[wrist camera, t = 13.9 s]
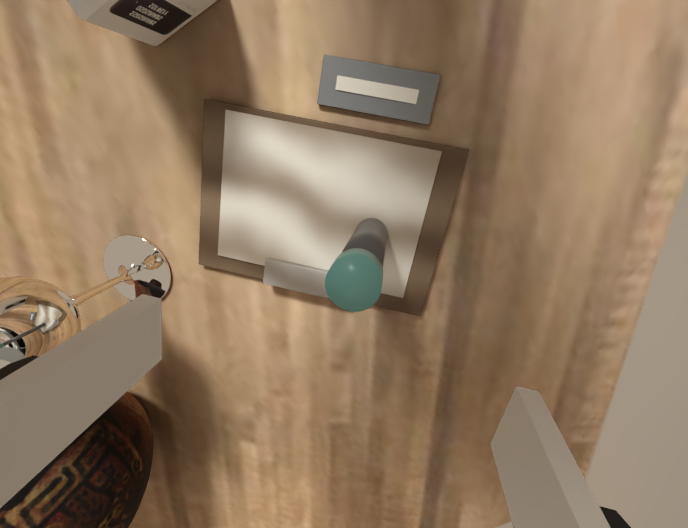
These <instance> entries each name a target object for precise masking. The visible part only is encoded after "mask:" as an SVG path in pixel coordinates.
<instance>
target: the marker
mask: <svg viewBox="0 0 688 528" xmlns="http://www.w3.org/2000/svg"><path fill="white" fill-rule="evenodd" d="M387 236H388V232H387V228H386V226H385V225H384V223H383V222H382V221H380V220H378V219H375V218H367V219H365V220H363V221H361V222H360V223H359V224H358V226H357V228H356V229H355V231H354V233H353V234H352V236H351V238H350V239H349V241H348V243H347V244H346V246H345V248H344V249H343V251H342V253H341V254H340V255H339V256H338V257H337V258H336V259H335V261H334V262H333V264H332V266H331V267H330V269H329V270H328V272H327V275H326V278H325V289H326V292H327V295H328V297H329V298H330V300H331V301H332V302H333V303H334V304H335V305H336V306H338V307H339V308H341V309H344V310H347V311H352V312H357V311H363V310H366V309H368V308H370V307H371V306H372V305H373V304H375V302H376V301H377V300H378V298H379V296H380V294H381V289H382V282H383V263H384V256H385V249H386V243H387Z"/></svg>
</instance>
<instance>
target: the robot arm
mask: <svg viewBox="0 0 688 528" xmlns="http://www.w3.org/2000/svg"><path fill="white" fill-rule="evenodd" d="M161 359H162V311H161V298H157V297H153V296H148V295H144V294H142V295H140V296H138V297H137V298H135V299H133V300H132V301H130V302H129V303H127V304H125V305H124V306H122V307H120V308H119V309H117V310H115V311H114V312H112V313H110V314H109V315H107V316H105V317H104V318H102V319H100V320H99V321H97V322H96V323H94V324H92V325H91V326H89V327H87V328H86V329H84V330H82V331H81V332H79V333H77V334H76V335H74V336H72V337H71V338H69V339H67V340H66V341H64V342H63V343H61V344H59V345H58V346H56V347H54V348H53V349H51V350H49V351H48V352H46V353H44V354H43V355H41V356H39V357H38V356H34V355H32V356H30V357H27V358H24V359H21V360H18V361H16V362H13V363H10V364H8V365H6V366H5V367H3V368H1V369H0V508H1V507H2V506H3V505H4V504H5V503H7V502H8V501H9V500H10V499H11V498H12V497H13V496H14V495H15V494H16V493H17V492H18V491H20V490H21V489H22V488H23V487H24V486H25V485H26V484H27V483H28V482H29V481H30V480H31V479H33V478H34V477H35V476H36V475H37V474H38V473H39V472H40V471H41V470H42V469H43V468H44V467H46V466H47V465H48V464H49V463H50V462H51V461H52V460H53V459H54V458H55V457H56V456H57V455H59V454H60V453H61V452H62V451H63V450H64V449H65V448H66V447H67V446H68V445H69V444H70V443H72V442H73V441H74V440H75V439H76V438H77V437H78V436H79V435H80V434H81V433H82V432H83V431H85V430H86V429H87V428H88V427H89V426H90V425H91V424H92V423H93V422H94V421H95V420H96V419H98V418H99V417H100V416H101V415H102V414H103V413H104V412H105V411H106V410H107V409H108V408H109V407H111V406H112V405H113V404H114V403H115V402H116V401H117V400H118V399H119V398H120V397H121V396H122V395H124V394H125V393H126V392H127V391H128V390H129V389H130V388H131V387H132V386H133V385H134V384H135V383H137V382H138V381H139V380H140V379H141V378H142V377H143V376H144V375H145V374H146V373H147V372H148V371H150V370H151V369H152V368H153V367H154V366H155V365H156V364H157V363H158V362H159V361H160V360H161ZM490 446H491V449H492V453H493V457H494V460H495V464H496V467H497V471H498V475H499V478H500V482H501V485H502V489H503V493H504V496H505V500H506V503H507V507H508V511H509V514H510V518H511V521H512V524H513V528H631V527H630V526H629V525H628V524H627V523H626V522H625V521H624V519H623V518H622V517H621V516H620V515H619V514H618V513H617V511H615V510H612V509H608V508H604V507H600V506H599V505H598V503H597V501H596V499H595V497H594V495H593V493H592V491H591V489H590V488H589V486H588V484H587V482H586V480H585V478H584V476H583V474H582V472H581V470H580V469H579V467H578V465H577V463H576V461H575V459H574V457H573V455H572V453H571V451H570V450H569V448H568V446H567V444H566V442H565V440H564V438H563V436H562V434H561V432H560V431H559V429H558V427H557V425H556V423H555V421H554V419H553V417H552V415H551V413H550V412H549V410H548V408H547V406H546V404H545V402H544V400H543V398H542V396H541V394H540V393H539V391H536V390H532V389H528V388H523V387H519V386H516V387H515V389H514V392H513V394H512V396H511V398H510V401H509V403H508V405H507V407H506V410H505V412H504V414H503V417H502V419H501V421H500V423H499V426H498V428H497V430H496V432H495V435H494V437H493V439H492V441H491V444H490Z"/></svg>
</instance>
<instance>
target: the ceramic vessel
mask: <svg viewBox="0 0 688 528" xmlns="http://www.w3.org/2000/svg"><path fill="white" fill-rule="evenodd" d="M152 456H153V436H152V430H151V425H150V422H149V418H148V416H147V414H146V411H145V410H144V408H143V407H142V405H141V404H140V403H139V402H138V400H137V399H136V398H135V397H133V396H132V395H131V394H129V393H128V392H126V393H125V394H124V395H122V396H121V397H120V398H119V399H118V400H117V401H116V402H115V403H114V404H113V405H112V406H111V407H109V408H108V409H107V410H106V411H105V412H104V413H103V414H102V415H101V416H100V417H99V418H98V419H96V420H95V421H94V422H93V423H92V424H91V425H90V426H89V427H88V428H87V429H86V430H85V431H83V432H82V433H81V434H80V435H79V436H78V437H77V438H76V439H75V440H74V441H73V442H72V443H70V444H69V445H68V446H67V447H66V448H65V449H64V450H63V451H62V452H61V453H60V454H59V455H57V456H56V457H55V458H54V459H53V460H52V461H51V462H50V463H49V464H48V465H47V466H46V467H44V468H43V469H42V470H41V471H40V472H39V473H38V474H37V475H36V476H35V477H34V478H33V479H31V480H30V481H29V482H28V483H27V484H26V485H25V486H24V487H23V488H22V489H21V490H20V491H18V492H17V493H16V494H15V495H14V496H13V497H12V498H11V499H10V500H9V501H8V502H7V503H5V504H4V505H3V506H2V507H1V508H0V528H128V527H129V525H130V523H131V522H132V520H133V518H134V516H135V514H136V512H137V510H138V508H139V505H140V503H141V500H142V497H143V495H144V492H145V489H146V486H147V483H148V480H149V475H150V470H151V464H152Z"/></svg>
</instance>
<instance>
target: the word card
mask: <svg viewBox="0 0 688 528" xmlns="http://www.w3.org/2000/svg"><path fill="white" fill-rule="evenodd" d="M440 76H441V75H438V74H432V73H427V72H421V71H415V70H410V69H404V68H398V67H392V66H387V65H381V64H375V63H369V62H364V61H358V60H352V59H347V58H341V57H335V56H329V55H324V58H323V66H322V73H321V80H320V87H319V94H318V102H317V104H320V105H326V106H331V107H336V108H342V109H347V110H352V111H358V112H363V113H368V114H374V115H379V116H384V117H390V118H395V119H400V120H406V121H411V122H416V123H422V124H427V125H428V124H429V120H430V116H431V112H432V108H433V104H434V100H435V96H436V92H437V88H438V84H439V80H440Z"/></svg>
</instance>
